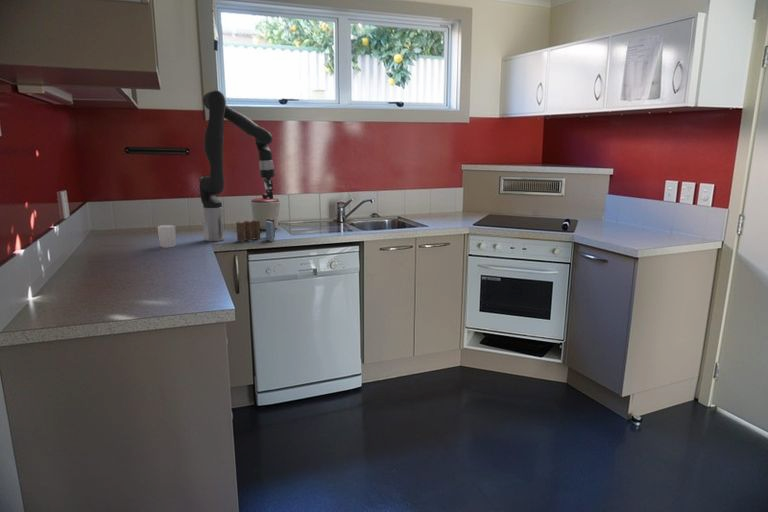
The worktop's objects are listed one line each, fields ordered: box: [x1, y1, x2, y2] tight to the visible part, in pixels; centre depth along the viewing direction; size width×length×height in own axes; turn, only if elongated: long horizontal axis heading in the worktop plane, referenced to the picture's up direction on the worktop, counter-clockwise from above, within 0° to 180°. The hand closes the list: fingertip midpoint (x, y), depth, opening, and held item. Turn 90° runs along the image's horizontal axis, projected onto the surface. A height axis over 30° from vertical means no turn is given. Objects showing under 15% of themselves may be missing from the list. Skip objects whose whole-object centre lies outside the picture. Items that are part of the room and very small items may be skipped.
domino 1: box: [236, 221, 246, 243], centre depth 264 cm, size 2×5×10 cm, turn 45°
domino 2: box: [243, 220, 254, 241], centre depth 268 cm, size 2×5×10 cm, turn 45°
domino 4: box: [267, 218, 276, 238], centre depth 277 cm, size 2×5×10 cm, turn 45°
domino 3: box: [251, 220, 261, 240], centre depth 271 cm, size 2×5×10 cm, turn 45°
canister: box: [249, 192, 282, 231], centre depth 304 cm, size 18×18×21 cm
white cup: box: [157, 224, 176, 249], centre depth 250 cm, size 8×8×10 cm
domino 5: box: [265, 221, 275, 242], centre depth 267 cm, size 2×5×10 cm, turn 45°
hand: (269, 197), depth 286 cm, fingers open, 8 cm apart
